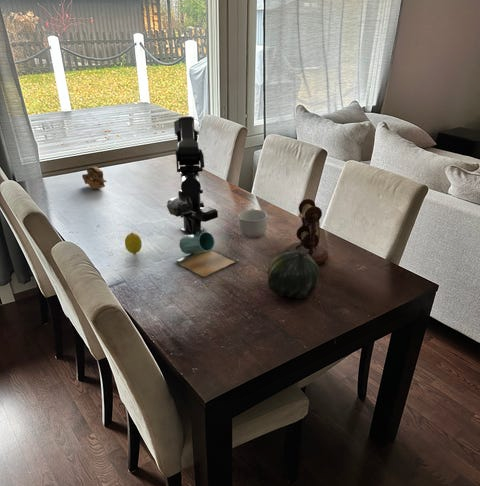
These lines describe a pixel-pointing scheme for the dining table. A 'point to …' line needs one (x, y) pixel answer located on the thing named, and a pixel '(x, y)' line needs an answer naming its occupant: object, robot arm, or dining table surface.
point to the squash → (293, 274)
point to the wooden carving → (94, 178)
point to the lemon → (133, 243)
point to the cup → (196, 243)
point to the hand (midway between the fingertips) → (193, 233)
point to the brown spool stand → (309, 233)
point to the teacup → (253, 222)
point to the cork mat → (204, 262)
